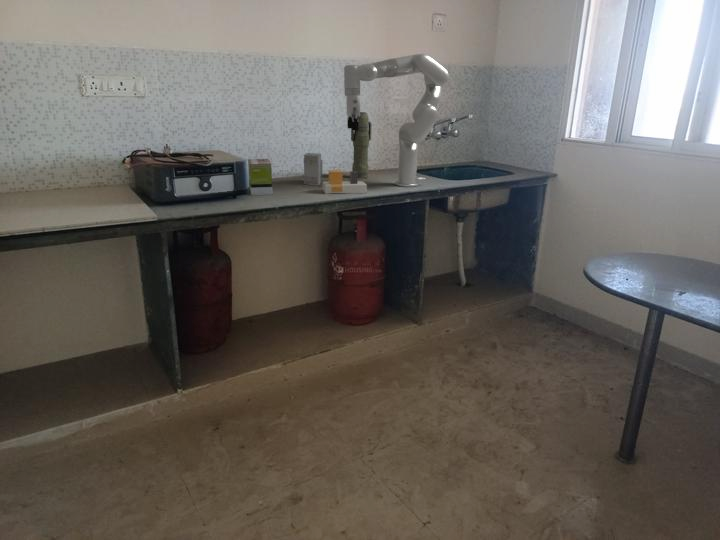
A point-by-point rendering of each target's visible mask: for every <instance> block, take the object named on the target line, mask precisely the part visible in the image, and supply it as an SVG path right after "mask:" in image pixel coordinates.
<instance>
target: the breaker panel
mask: <svg viewBox="0 0 720 540" xmlns="http://www.w3.org/2000/svg"><path fill="white" fill-rule="evenodd" d="M367 189H368V185H367V184H366V183H365V182H364V181H362V180H361V181H360V180H357V184H350V180H349V181H344V180H342V184H331V185H330V184H329V181H322V192H325V193H324V194H325V195H329V193H350V194H367V193H368V192H367Z"/></svg>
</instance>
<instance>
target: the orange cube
mask: <svg viewBox="0 0 720 540" xmlns="http://www.w3.org/2000/svg"><path fill="white" fill-rule="evenodd" d="M342 181H343V171H342V170H341V169H328V182H329V184H330V185H331V184H342Z"/></svg>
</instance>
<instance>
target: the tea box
mask: <svg viewBox="0 0 720 540" xmlns="http://www.w3.org/2000/svg"><path fill="white" fill-rule="evenodd" d="M247 162H248V166H247V167H248V181H250V182H249V190H250V195H251V196H269V195H273V174H272V172H273V171H272V163H271V161H270V159H269V158H250V159H249V158H248V159H247Z"/></svg>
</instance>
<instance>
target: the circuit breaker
mask: <svg viewBox="0 0 720 540" xmlns="http://www.w3.org/2000/svg"><path fill="white" fill-rule="evenodd" d="M322 175H323V159H322V154H321V153H317V152H316V153H313V152H311V153H309V152H306V153H304V154H303V182H304V183H303V185H304V184H308V185H309V186H319V185H320V184H321V183H322ZM308 185H307V186H308Z"/></svg>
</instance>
